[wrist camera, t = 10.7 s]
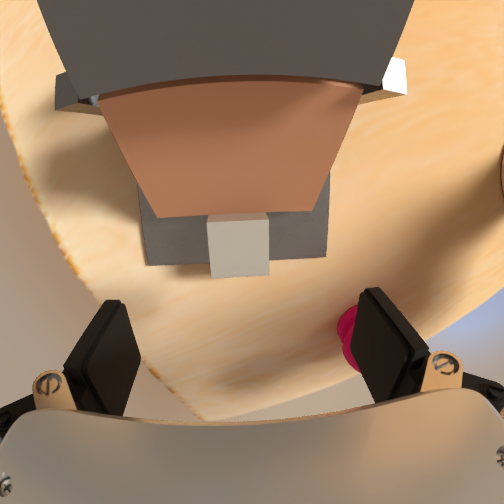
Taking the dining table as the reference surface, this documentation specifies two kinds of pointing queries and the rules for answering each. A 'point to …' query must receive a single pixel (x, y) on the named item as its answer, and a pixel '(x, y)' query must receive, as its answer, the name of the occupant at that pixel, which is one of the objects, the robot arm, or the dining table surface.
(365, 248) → the dining table surface
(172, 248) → the frame
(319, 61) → the trapdoor
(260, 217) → the light grey cube
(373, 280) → the dining table surface
